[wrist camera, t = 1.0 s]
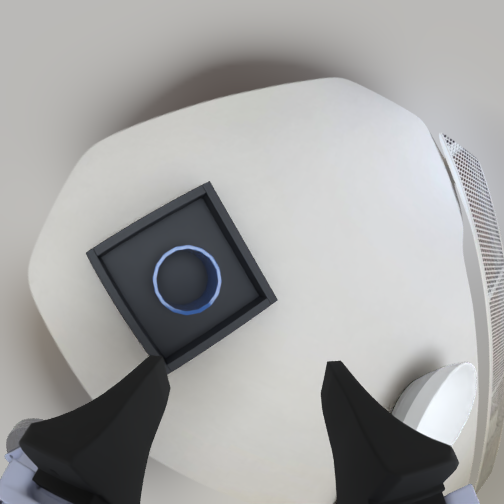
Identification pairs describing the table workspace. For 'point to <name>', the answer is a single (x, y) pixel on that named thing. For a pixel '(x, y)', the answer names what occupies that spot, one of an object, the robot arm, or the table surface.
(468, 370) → the bowl
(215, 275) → the small cup
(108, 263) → the tray
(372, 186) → the table surface
